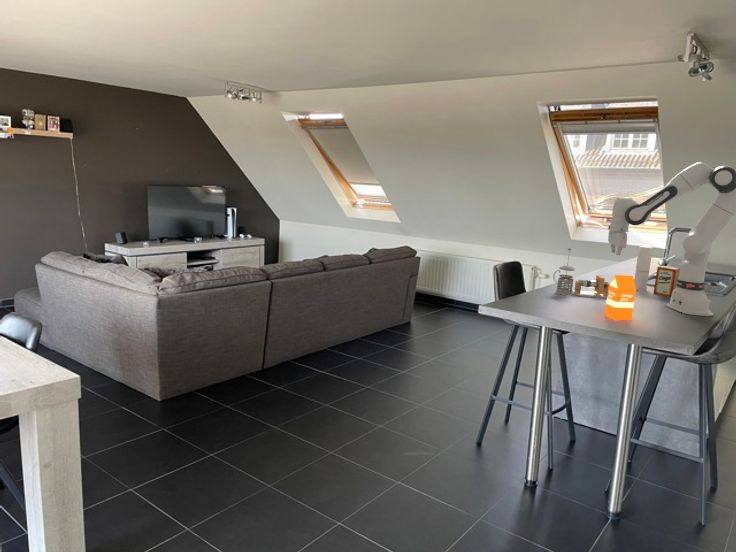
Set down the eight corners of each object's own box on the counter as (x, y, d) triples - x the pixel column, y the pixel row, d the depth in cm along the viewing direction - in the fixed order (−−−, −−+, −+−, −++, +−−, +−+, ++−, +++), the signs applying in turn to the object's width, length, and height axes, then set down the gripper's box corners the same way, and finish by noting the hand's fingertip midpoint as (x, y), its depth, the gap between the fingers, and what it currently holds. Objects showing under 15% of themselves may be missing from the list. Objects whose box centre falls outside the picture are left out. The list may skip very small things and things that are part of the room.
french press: (570, 296, 289) (576, 250, 284) (548, 292, 296) (554, 247, 291) (575, 293, 297) (581, 248, 292) (554, 290, 304) (560, 245, 299)
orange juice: (604, 315, 252) (610, 273, 248) (622, 316, 252) (628, 274, 249) (613, 320, 244) (619, 276, 240) (631, 321, 245) (638, 277, 241)
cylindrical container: (643, 288, 323) (649, 246, 318) (648, 290, 316) (655, 248, 311) (631, 287, 323) (637, 245, 319) (635, 289, 316) (642, 247, 312)
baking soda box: (675, 296, 304) (680, 267, 301) (671, 297, 300) (675, 268, 297) (657, 292, 311) (662, 265, 308) (653, 293, 307) (657, 266, 304)
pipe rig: (613, 298, 289) (615, 284, 288) (576, 295, 292) (578, 281, 290) (607, 294, 300) (609, 280, 298) (571, 291, 302) (573, 277, 301)
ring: (602, 294, 291) (604, 278, 289) (598, 293, 291) (600, 278, 289) (598, 290, 299) (600, 275, 297) (594, 290, 299) (596, 275, 298)
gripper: (631, 230, 277) (627, 257, 280) (619, 226, 297) (616, 251, 300) (618, 229, 278) (615, 256, 281) (607, 225, 298) (604, 250, 300)
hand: (615, 253), depth 290 cm, fingers open, 8 cm apart
